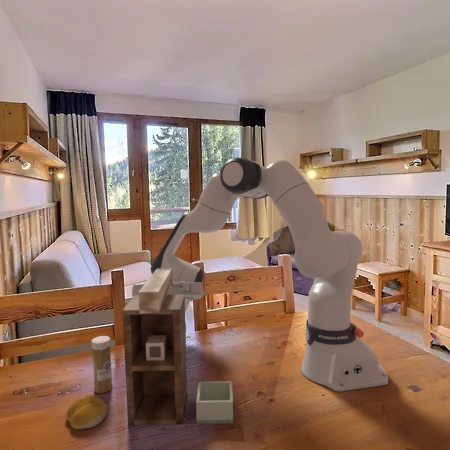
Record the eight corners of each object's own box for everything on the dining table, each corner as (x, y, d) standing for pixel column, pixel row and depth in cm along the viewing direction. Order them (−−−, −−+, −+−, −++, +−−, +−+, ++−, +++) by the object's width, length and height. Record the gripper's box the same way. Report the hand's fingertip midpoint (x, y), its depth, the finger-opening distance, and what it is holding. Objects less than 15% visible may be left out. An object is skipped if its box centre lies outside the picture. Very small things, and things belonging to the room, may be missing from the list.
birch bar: (172, 285, 90) (172, 268, 90) (159, 313, 70) (158, 291, 70) (157, 285, 90) (156, 268, 90) (139, 313, 70) (138, 292, 70)
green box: (231, 400, 83) (231, 381, 83) (233, 423, 75) (232, 401, 75) (198, 401, 83) (198, 381, 83) (196, 423, 75) (196, 402, 75)
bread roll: (76, 437, 72) (74, 419, 72) (63, 415, 79) (61, 399, 78) (114, 419, 77) (113, 402, 77) (98, 400, 84) (98, 385, 84)
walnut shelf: (187, 396, 85) (184, 294, 82) (182, 424, 75) (179, 309, 72) (138, 397, 85) (134, 295, 82) (127, 425, 75) (122, 310, 72)
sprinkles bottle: (105, 395, 86) (102, 344, 85) (90, 392, 87) (87, 341, 86) (116, 385, 90) (113, 336, 89) (101, 382, 92) (99, 334, 90)
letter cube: (167, 351, 80) (166, 335, 80) (164, 360, 76) (163, 343, 76) (150, 351, 80) (149, 335, 80) (146, 360, 76) (145, 343, 76)
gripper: (205, 305, 105) (202, 295, 92) (138, 307, 104) (126, 297, 92) (205, 284, 107) (202, 272, 95) (139, 286, 107) (128, 274, 94)
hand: (164, 284), depth 93 cm, fingers open, 8 cm apart
